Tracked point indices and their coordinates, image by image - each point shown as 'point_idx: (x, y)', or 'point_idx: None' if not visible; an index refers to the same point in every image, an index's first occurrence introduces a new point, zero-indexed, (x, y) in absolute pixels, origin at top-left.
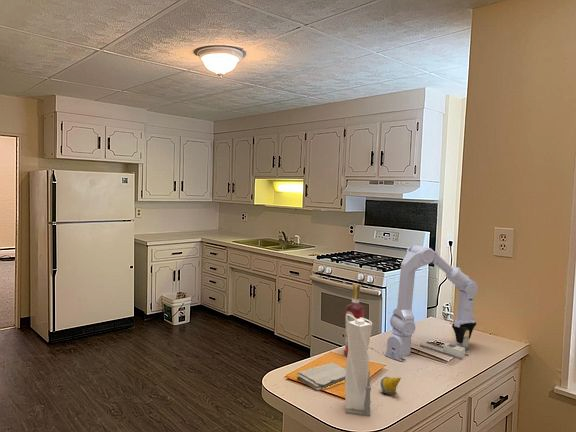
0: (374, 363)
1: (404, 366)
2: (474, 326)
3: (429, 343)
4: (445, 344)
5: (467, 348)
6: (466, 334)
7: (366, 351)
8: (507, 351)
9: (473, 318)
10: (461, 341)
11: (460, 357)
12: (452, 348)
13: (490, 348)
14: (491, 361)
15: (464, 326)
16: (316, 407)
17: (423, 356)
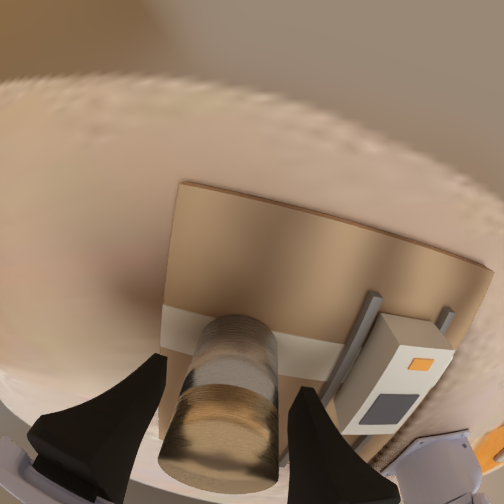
0: (479, 445)
1: (492, 410)
2: (73, 418)
3: (288, 458)
4: (377, 432)
5: (251, 325)
6: (264, 429)
7: None
8: (44, 101)
9: (12, 469)
10: (318, 401)
11: (431, 323)
12: (425, 392)
13: (54, 192)
14: (301, 130)
15: (129, 464)
16: None
17: (410, 424)
